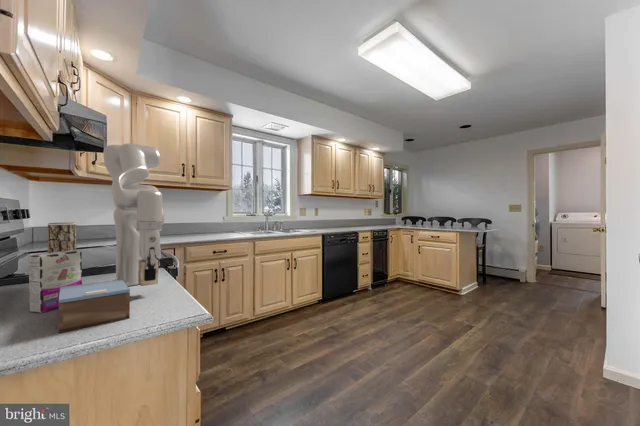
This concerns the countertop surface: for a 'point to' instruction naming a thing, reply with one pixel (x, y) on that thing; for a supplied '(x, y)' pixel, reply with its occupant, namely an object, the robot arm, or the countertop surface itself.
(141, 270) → the birch block
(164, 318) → the countertop surface
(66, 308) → the walnut box
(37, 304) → the candy bar box
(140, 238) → the robot arm
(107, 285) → the box lid
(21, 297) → the countertop surface
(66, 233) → the bark log
